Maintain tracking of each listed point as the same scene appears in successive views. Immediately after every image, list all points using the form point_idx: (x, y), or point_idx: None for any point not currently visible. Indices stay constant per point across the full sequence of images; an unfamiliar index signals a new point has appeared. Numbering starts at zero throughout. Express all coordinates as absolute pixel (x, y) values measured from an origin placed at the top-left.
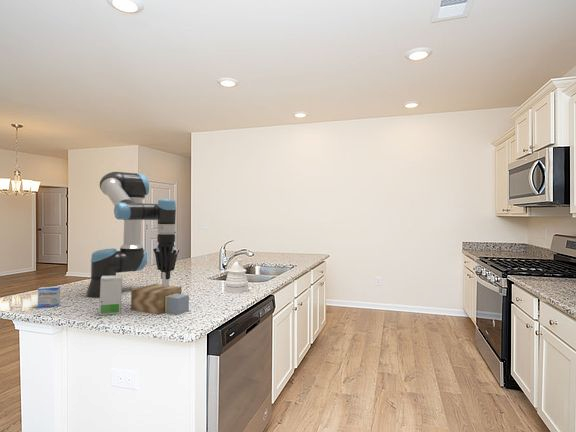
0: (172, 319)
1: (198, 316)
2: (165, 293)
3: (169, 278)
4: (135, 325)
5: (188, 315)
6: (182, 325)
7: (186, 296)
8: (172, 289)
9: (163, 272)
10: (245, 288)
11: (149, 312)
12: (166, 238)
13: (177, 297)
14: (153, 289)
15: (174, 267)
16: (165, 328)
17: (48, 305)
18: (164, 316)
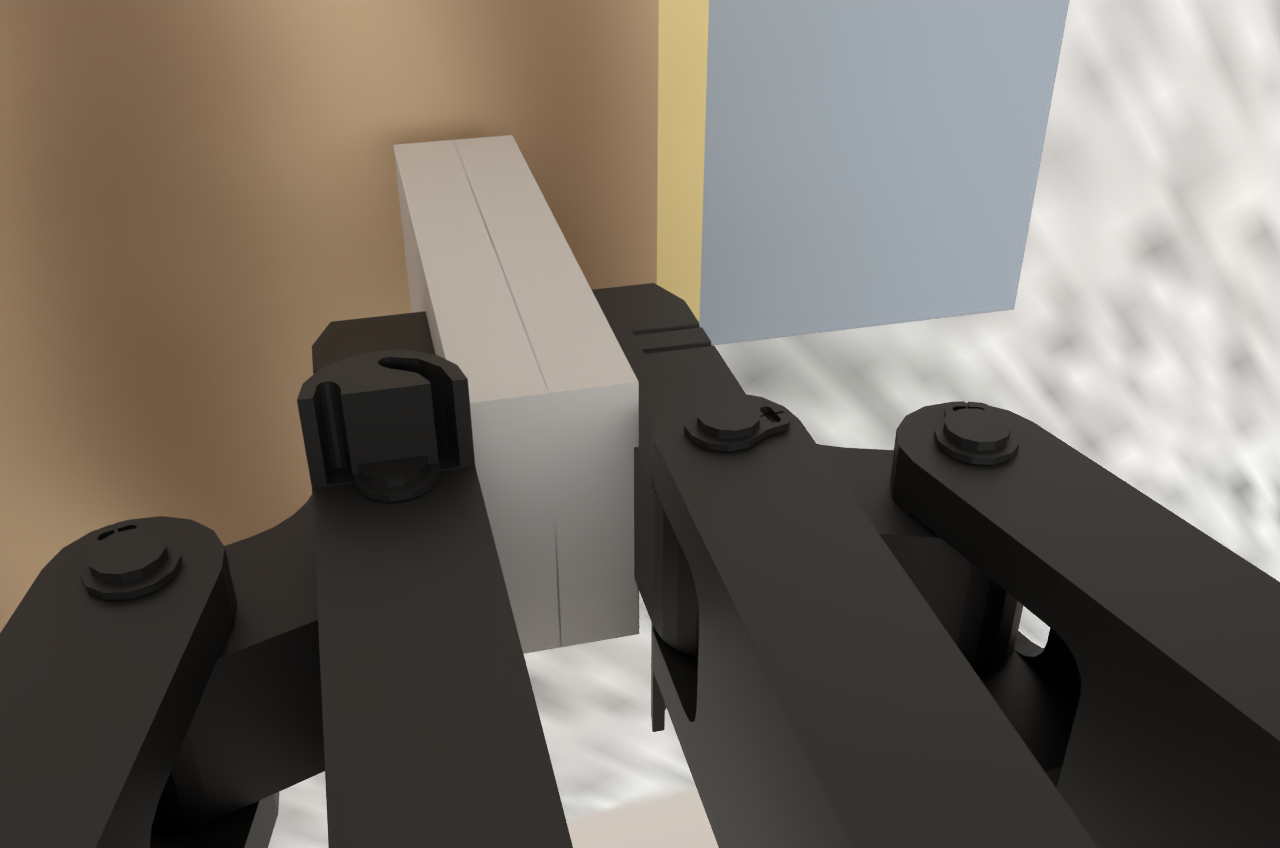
0: (928, 387)
1: (1226, 71)
2: None
3: (662, 310)
4: (656, 757)
5: (1050, 114)
6: (1175, 472)
7: (1056, 13)
8: (652, 103)
9: (553, 639)
10: None
11: None
12: None
13: (955, 258)
14: (158, 406)
15: (1115, 484)
16: (1042, 631)
17: None
18: (723, 356)
